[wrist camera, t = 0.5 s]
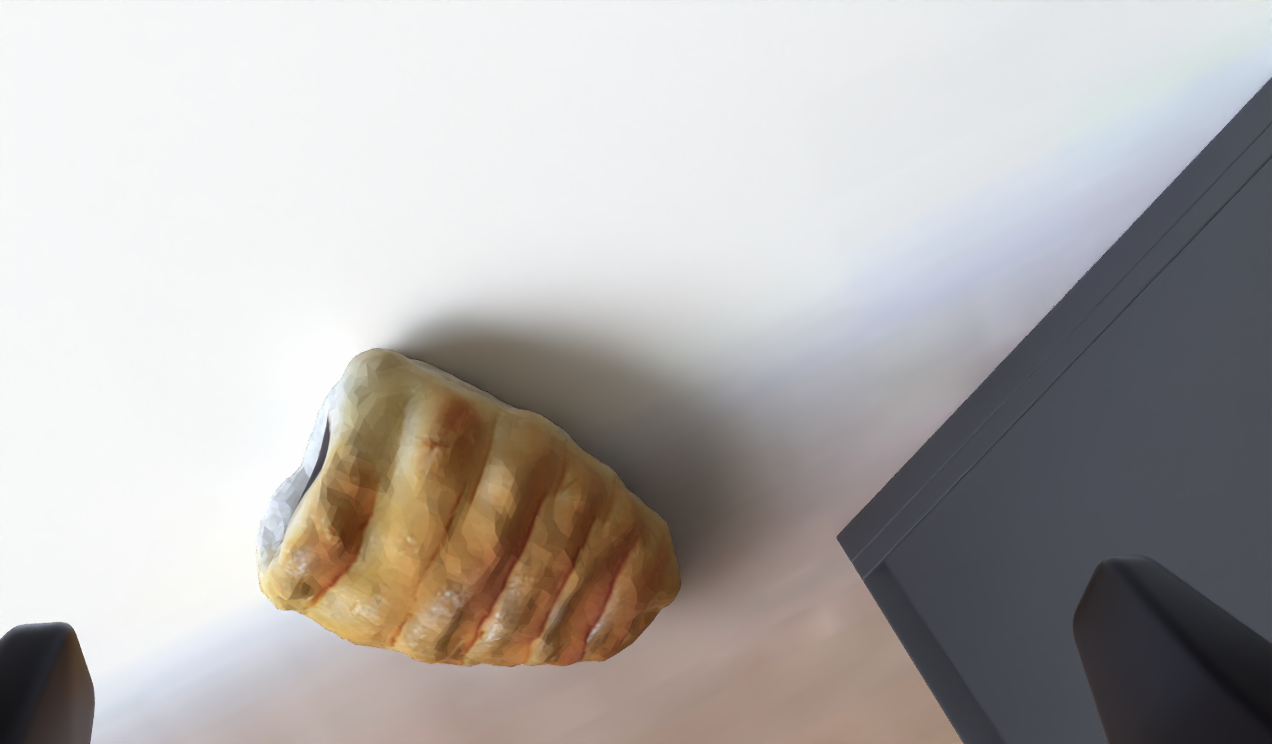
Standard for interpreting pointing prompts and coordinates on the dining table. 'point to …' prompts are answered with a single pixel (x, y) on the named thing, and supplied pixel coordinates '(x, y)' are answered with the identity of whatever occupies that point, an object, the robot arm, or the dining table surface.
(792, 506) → the dining table surface
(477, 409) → the pastry
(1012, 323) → the dining table surface
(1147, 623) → the robot arm
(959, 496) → the oven
